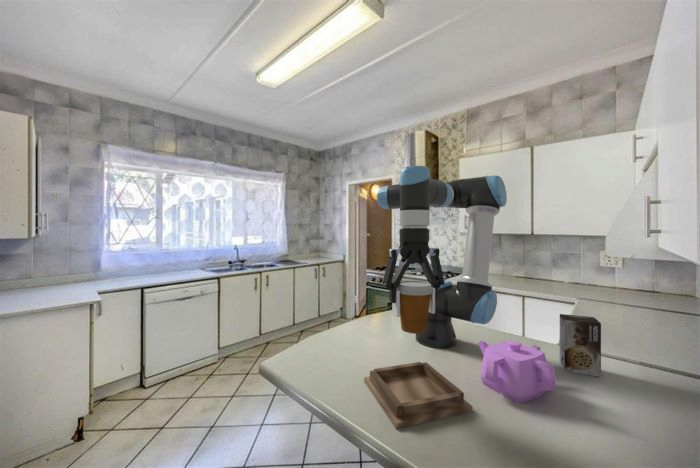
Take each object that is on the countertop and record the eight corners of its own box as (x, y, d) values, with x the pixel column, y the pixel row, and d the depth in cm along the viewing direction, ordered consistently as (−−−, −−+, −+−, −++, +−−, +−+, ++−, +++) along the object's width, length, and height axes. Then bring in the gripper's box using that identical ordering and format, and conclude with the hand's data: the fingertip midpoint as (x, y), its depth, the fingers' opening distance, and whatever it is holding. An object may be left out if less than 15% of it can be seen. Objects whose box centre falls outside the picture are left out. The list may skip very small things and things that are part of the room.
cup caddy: (425, 371, 87) (425, 359, 87) (472, 411, 68) (472, 396, 68) (364, 381, 81) (364, 368, 81) (396, 428, 62) (396, 412, 62)
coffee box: (593, 368, 89) (594, 316, 89) (601, 377, 83) (602, 323, 83) (558, 362, 93) (559, 313, 93) (563, 371, 87) (564, 318, 87)
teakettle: (485, 399, 73) (486, 351, 73) (476, 368, 89) (477, 328, 89) (563, 411, 68) (564, 360, 68) (538, 376, 84) (539, 335, 84)
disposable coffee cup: (434, 337, 68) (434, 288, 68) (394, 334, 70) (394, 286, 70) (431, 324, 78) (431, 280, 77) (395, 322, 80) (396, 279, 79)
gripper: (442, 227, 80) (441, 306, 81) (368, 227, 74) (368, 313, 74) (459, 227, 73) (459, 314, 74) (380, 227, 67) (380, 322, 67)
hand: (413, 313), depth 74 cm, fingers closed on disposable coffee cup, 9 cm apart
